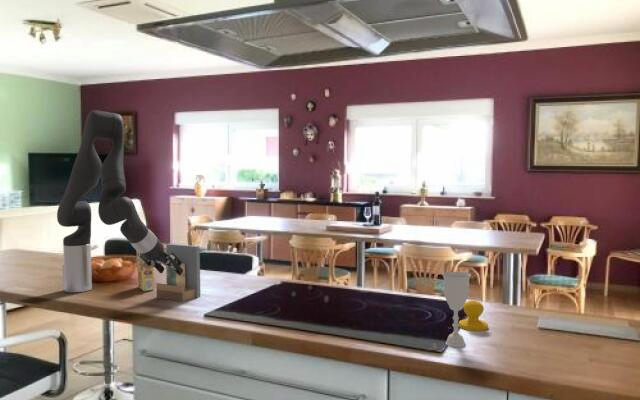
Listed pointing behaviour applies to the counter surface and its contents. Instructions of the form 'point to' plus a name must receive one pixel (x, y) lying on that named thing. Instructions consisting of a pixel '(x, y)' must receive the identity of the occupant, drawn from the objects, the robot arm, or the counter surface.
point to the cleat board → (192, 274)
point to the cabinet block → (175, 276)
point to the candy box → (145, 275)
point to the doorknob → (473, 317)
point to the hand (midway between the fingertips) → (171, 272)
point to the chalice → (456, 301)
